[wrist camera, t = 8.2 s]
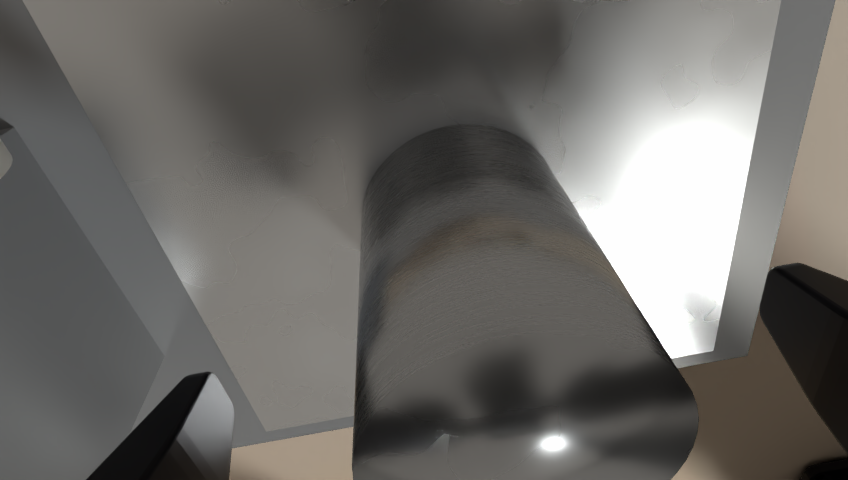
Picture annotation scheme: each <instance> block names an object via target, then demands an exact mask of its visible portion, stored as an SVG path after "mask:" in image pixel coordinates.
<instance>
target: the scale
mask: <svg viewBox="0 0 848 480" xmlns="http://www.w3.org/2000/svg"><path fill="white" fill-rule="evenodd" d="M834 4H835V0H781V4H780V10H779V15H778V20H777V25H776V30H775V35H774V41H773V46H772V51H771V56H770V61H769V66H768V72H767V77H766V82H765V87H764V92H763V97H762V103H761V108H760V113H759V118H758V123H757V128H756V134H755V139H754V144H753V149H752V154H751V159H750V165H749V170H748V175H747V180H746V185H745V190H744V196H743V201H742V206H741V211H740V216H739V221H738V227H737V232H736V237H735V242H734V247H733V252H732V258H731V263H730V268H729V273H728V278H727V283H726V289H725V294H724V299H723V304H722V309H721V314H720V320H719V325H718V330H717V335H716V340H715V345H714V351H710V352H705V353H699V354H694V355H688V356H683V357H677V358H672V361H673V362H674V364H675V366H676V367H677V368H682V367H687V366H693V365H698V364H704V363H710V362H715V361H721V360H726V359H732V358H737V357H743V356H747V355H748V351H749V347H750V343H751V339H752V335H753V331H754V327H755V323H756V319H757V315H758V311H759V307H760V302H761V297H762V293H763V289H764V285H765V281H766V277H767V274H768V270H769V266H770V262H771V258H772V254H773V250H774V246H775V242H776V238H777V234H778V230H779V226H780V222H781V218H782V214H783V210H784V206H785V202H786V198H787V194H788V190H789V185H790V181H791V177H792V173H793V169H794V165H795V161H796V157H797V153H798V149H799V145H800V141H801V137H802V133H803V129H804V125H805V121H806V117H807V113H808V109H809V105H810V101H811V97H812V93H813V89H814V84H815V80H816V76H817V72H818V68H819V64H820V60H821V56H822V52H823V48H824V44H825V40H826V36H827V32H828V28H829V24H830V20H831V16H832V12H833V8H834ZM207 371H208V372H213V373H214V374H215V375H216V376H217V378H218V379H219V381H220V383H221V385H222V386H223V388H224V390H225V391H226V393H227V395H228V396H229V398H230V400H231V402H232V404H233V408H234V426H233V438H232V448H237V447H242V446H248V445H253V444H259V443H265V442H270V441H276V440H281V439H287V438H292V437H298V436H303V435H309V434H315V433H320V432H326V431H331V430H337V429H342V428H348V427H354V416H350V417H345V418H339V419H334V420H328V421H322V422H317V423H311V424H306V425H300V426H295V427H289V428H284V429H278V430H273V431H267V432H266V431H265V429H264V427H263V425H262V424H261V422H260V420H259V418H258V416H257V415H256V413H255V411H254V409H253V408H252V406H251V404H250V402H249V401H248V399H247V397H246V395H245V393H244V392H243V390H242V388H241V386H240V385H239V383H238V381H237V379H236V378H235V376H234V374H233V372H232V370H231V369H230V367H229V365H228V363H227V362H226V360H225V358H224V356H223V355H222V353H221V351H220V349H219V347H218V346H217V344H216V342H215V340H214V339H213V337H212V335H211V333H210V332H209V330H208V328H207V326H206V324H205V323H204V321H203V319H202V317H201V316H200V314H199V312H198V310H197V308H196V307H195V305H194V303H193V301H192V300H191V298H190V296H189V294H188V293H187V291H186V289H185V287H184V285H183V284H182V282H181V280H180V278H179V277H178V275H177V273H176V271H175V270H174V268H173V266H172V264H171V262H170V261H169V259H168V257H167V255H166V254H165V252H164V250H163V248H162V247H161V245H160V243H159V241H158V239H157V238H156V236H155V234H154V232H153V231H152V229H151V227H150V225H149V224H148V222H147V220H146V218H145V216H144V215H143V213H142V211H141V209H140V208H139V206H138V204H137V202H136V201H135V199H134V197H133V195H132V193H131V192H130V190H129V188H128V186H127V185H126V183H125V181H124V179H123V177H122V176H121V174H120V172H119V170H118V169H117V167H116V165H115V163H114V162H113V160H112V158H111V156H110V154H109V153H108V151H107V149H106V147H105V146H104V144H103V142H102V140H101V139H100V137H99V135H98V133H97V131H96V130H95V128H94V126H93V124H92V123H91V121H90V119H89V117H88V116H87V114H86V112H85V110H84V108H83V107H82V105H81V103H80V101H79V100H78V98H77V96H76V94H75V93H74V91H73V89H72V87H71V85H70V84H69V82H68V80H67V78H66V77H65V75H64V73H63V71H62V70H61V68H60V66H59V64H58V62H57V61H56V59H55V57H54V55H53V54H52V52H51V50H50V48H49V46H48V45H47V43H46V41H45V39H44V38H43V36H42V34H41V32H40V31H39V29H38V27H37V25H36V23H35V22H34V20H33V18H32V16H31V15H30V13H29V11H28V9H27V8H26V6H25V4H24V2H23V0H0V480H86V479H87V478H88V477H89V476H90V475H91V474H92V473H93V472H94V471H95V469H96V468H97V467H98V466H99V465H100V464H101V463H102V462H103V461H104V460H105V459H106V458H107V457H108V456H109V455H110V454H111V453H112V452H113V451H114V450H115V449H116V448H117V447H118V446H119V444H120V443H121V442H122V441H123V440H124V439H125V438H126V437H127V436H128V435H129V434H130V433H131V432H132V431H133V430H134V429H135V428H136V427H137V426H138V425H139V424H140V423H141V422H142V421H143V419H144V418H145V417H146V416H147V415H148V414H149V413H150V412H151V411H152V410H153V409H154V408H155V407H156V406H157V405H158V404H159V403H160V402H161V401H162V400H163V399H164V398H165V397H166V396H167V394H168V393H169V392H170V391H171V390H172V389H173V388H174V387H175V386H176V385H177V384H178V383H179V382H180V381H181V380H182V379H183V378H184V377H186V376H188V375H190V374H196V373H201V372H207Z"/></svg>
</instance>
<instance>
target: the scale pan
mask: <svg viewBox="0 0 848 480" xmlns="http://www.w3.org/2000/svg"><path fill="white" fill-rule="evenodd" d="M23 2H24V4H25V6H26V8H27V9H28V11H29V13H30V15H31V16H32V18H33V20H34V22H35V23H36V25H37V27H38V29H39V31H40V32H41V34H42V36H43V38H44V39H45V41H46V43H47V45H48V46H49V48H50V50H51V52H52V54H53V55H54V57H55V59H56V61H57V62H58V64H59V66H60V68H61V70H62V71H63V73H64V75H65V77H66V78H67V80H68V82H69V84H70V85H71V87H72V89H73V91H74V93H75V94H76V96H77V98H78V100H79V101H80V103H81V105H82V107H83V108H84V110H85V112H86V114H87V116H88V117H89V119H90V121H91V123H92V124H93V126H94V128H95V130H96V131H97V133H98V135H99V137H100V139H101V140H102V142H103V144H104V146H105V147H106V149H107V151H108V153H109V154H110V156H111V158H112V160H113V162H114V163H115V165H116V167H117V169H118V170H119V172H120V174H121V176H122V177H123V179H124V181H125V183H126V185H127V186H128V188H129V190H130V192H131V193H132V195H133V197H134V199H135V201H136V202H137V204H138V206H139V208H140V209H141V211H142V213H143V215H144V216H145V218H146V220H147V222H148V224H149V225H150V227H151V229H152V231H153V232H154V234H155V236H156V238H157V239H158V241H159V243H160V245H161V247H162V248H163V250H164V252H165V254H166V255H167V257H168V259H169V261H170V262H171V264H172V266H173V268H174V270H175V271H176V273H177V275H178V277H179V278H180V280H181V282H182V284H183V285H184V287H185V289H186V291H187V293H188V294H189V296H190V298H191V300H192V301H193V303H194V305H195V307H196V308H197V310H198V312H199V314H200V316H201V317H202V319H203V321H204V323H205V324H206V326H207V328H208V330H209V332H210V333H211V335H212V337H213V339H214V340H215V342H216V344H217V346H218V347H219V349H220V351H221V353H222V355H223V356H224V358H225V360H226V362H227V363H228V365H229V367H230V369H231V370H232V372H233V374H234V376H235V378H236V379H237V381H238V383H239V385H240V386H241V388H242V390H243V392H244V393H245V395H246V397H247V399H248V401H249V402H250V404H251V406H252V408H253V409H254V411H255V413H256V415H257V416H258V418H259V420H260V422H261V424H262V425H263V427H264V429H265V431H266V432H267V431H273V430H278V429H284V428H289V427H295V426H300V425H306V424H311V423H317V422H322V421H328V420H334V419H339V418H345V417H350V416H354V401H355V375H356V349H357V323H358V297H359V271H360V245H361V219H362V207H363V201H364V197H365V193H366V190H367V188H368V186H369V183H370V181H371V179H372V177H373V176H374V174H375V173H376V171H377V169H378V168H379V167H380V166H381V164H382V163H383V162H384V161H385V160H386V159H387V158H388V157H389V156H390V155H391V154H392V153H393V152H394V151H395V150H396V149H398V148H399V147H400V146H402V145H403V144H405V143H406V142H408V141H409V140H411V139H413V138H415V137H417V136H419V135H421V134H423V133H426V132H428V131H431V130H434V129H438V128H442V127H446V126H452V125H460V124H477V125H485V126H491V127H495V128H499V129H503V130H505V131H507V132H510V133H512V134H515V135H516V136H518V137H520V138H521V139H523V140H525V141H526V142H528V143H529V144H530V145H531V146H532V147H534V148H535V149H536V150H537V151H538V152H539V153H540V155H541V156H542V157H543V158H544V159H545V161H546V162H547V164H548V166H549V167H550V169H551V170H552V172H553V173H554V175H555V176H556V178H557V180H558V181H559V183H560V184H561V186H562V188H563V189H564V191H565V192H566V194H567V195H568V197H569V199H570V200H571V202H572V203H573V205H574V206H575V208H576V210H577V211H578V213H579V214H580V216H581V217H582V219H583V221H584V222H585V224H586V225H587V227H588V228H589V230H590V232H591V233H592V235H593V236H594V238H595V240H596V241H597V243H598V244H599V246H600V247H601V249H602V251H603V252H604V254H605V255H606V257H607V258H608V260H609V262H610V263H611V265H612V266H613V268H614V269H615V271H616V273H617V274H618V276H619V277H620V279H621V280H622V282H623V284H624V285H625V287H626V288H627V290H628V291H629V293H630V295H631V296H632V298H633V299H634V301H635V303H636V304H637V306H638V307H639V309H640V310H641V312H642V314H643V315H644V317H645V318H646V320H647V321H648V323H649V325H650V326H651V328H652V329H653V331H654V332H655V334H656V336H657V337H658V339H659V340H660V342H661V343H662V345H663V347H664V348H665V350H666V351H667V353H668V355H669V356H670V358H671V359H672V358H677V357H683V356H688V355H694V354H699V353H705V352H710V351H714V345H715V340H716V335H717V330H718V325H719V320H720V314H721V309H722V304H723V299H724V294H725V289H726V283H727V278H728V273H729V268H730V263H731V258H732V252H733V247H734V242H735V237H736V232H737V227H738V221H739V216H740V211H741V206H742V201H743V196H744V190H745V185H746V180H747V175H748V170H749V165H750V159H751V154H752V149H753V144H754V139H755V134H756V128H757V123H758V118H759V113H760V108H761V103H762V97H763V92H764V87H765V82H766V77H767V72H768V66H769V61H770V56H771V51H772V46H773V41H774V35H775V30H776V25H777V20H778V15H779V10H780V4H781V0H23Z"/></svg>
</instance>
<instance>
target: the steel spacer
mask: <svg viewBox="0 0 848 480" xmlns="http://www.w3.org/2000/svg"><path fill="white" fill-rule="evenodd" d="M698 422H699V417H698V408H697V404H696V401H695V398H694V395H693V393H692V391H691V389H690V388H689V386H688V384H687V383H686V381H685V380H684V378H683V377H682V375H681V373H680V372H679V370H678V369H677V367H676V366H675V364H674V362H673V361H672V359H671V358H670V356H669V355H668V353H667V351H666V350H665V348H664V347H663V345H662V343H661V342H660V340H659V339H658V337H657V336H656V334H655V332H654V331H653V329H652V328H651V326H650V325H649V323H648V321H647V320H646V318H645V317H644V315H643V314H642V312H641V310H640V309H639V307H638V306H637V304H636V303H635V301H634V299H633V298H632V296H631V295H630V293H629V291H628V290H627V288H626V287H625V285H624V284H623V282H622V280H621V279H620V277H619V276H618V274H617V273H616V271H615V269H614V268H613V266H612V265H611V263H610V262H609V260H608V258H607V257H606V255H605V254H604V252H603V251H602V249H601V247H600V246H599V244H598V243H597V241H596V240H595V238H594V236H593V235H592V233H591V232H590V230H589V228H588V227H587V225H586V224H585V222H584V221H583V219H582V217H581V216H580V214H579V213H578V211H577V210H576V208H575V206H574V205H573V203H572V202H571V200H570V199H569V197H568V195H567V194H566V192H565V191H564V189H563V188H562V186H561V184H560V183H559V181H558V180H557V178H556V176H555V175H554V173H553V172H552V170H551V169H550V167H549V166H548V164H547V162H546V161H545V159H544V158H543V157H542V156H541V155H540V153H539V152H538V151H537V150H536V149H535V148H534V147H532V146H531V145H530V144H529V143H528V142H526V141H525V140H523V139H521V138H520V137H518V136H516V135H515V134H512V133H510V132H507V131H505V130H503V129H499V128H495V127H491V126H485V125H477V124H460V125H452V126H446V127H442V128H438V129H434V130H431V131H428V132H426V133H423V134H421V135H419V136H417V137H415V138H413V139H411V140H409V141H408V142H406V143H405V144H403V145H402V146H400V147H399V148H398V149H396V150H395V151H394V152H393V153H392V154H391V155H390V156H389V157H388V158H387V159H386V160H385V161H384V162H383V163H382V164H381V166H380V167H379V168H378V169H377V171H376V173H375V174H374V176H373V177H372V179H371V181H370V183H369V186H368V188H367V190H366V193H365V197H364V201H363V207H362V219H361V245H360V271H359V297H358V323H357V349H356V375H355V401H354V427H353V453H352V471H353V480H671V479H672V478H673V476H674V475H675V474H676V473H677V472H678V471H679V469H680V468H681V466H682V465H683V464H684V462H685V461H686V459H687V457H688V455H689V453H690V452H691V450H692V448H693V445H694V442H695V439H696V436H697V432H698Z"/></svg>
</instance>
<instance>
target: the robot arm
mask: <svg viewBox="0 0 848 480" xmlns="http://www.w3.org/2000/svg"><path fill="white" fill-rule="evenodd" d="M760 315H761V318H762V320H763V322H764V324H765V326H766V328H767V329H768V331H769V333H770V335H771V336H772V338H773V340H774V341H775V343H776V345H777V347H778V348H779V350H780V352H781V354H782V355H783V357H784V359H785V360H786V362H787V364H788V366H789V367H790V369H791V371H792V373H793V374H794V376H795V378H796V379H797V381H798V383H799V385H800V386H801V388H802V390H803V391H804V393H805V395H806V396H807V398H808V399H809V401H810V403H811V404H812V406H813V407H814V409H815V410H816V412H817V413H818V414H819V416H820V417H821V419H822V420H823V421H824V423H825V424H826V426H827V427H828V428H829V430H830V431H831V432H832V434H833V435H834V437H835V438H836V439H837V441H838V442H839V443H840V445H841V446H842V448H843V449H844V450H845V452H846V453H847V454H848V281H847V280H844V279H841V278H839V277H836V276H834V275H831V274H828V273H826V272H823V271H820V270H818V269H815V268H813V267H810V266H807V265H804V264H801V263H793V264H788V265H782V266H777V267H774V268H772V269H771V270H770V271H769V272H768V274H767V277H766V281H765V285H764V289H763V293H762V297H761V302H760ZM233 426H234V408H233V404H232V402H231V400H230V398H229V396H228V395H227V393H226V391H225V390H224V388H223V386H222V385H221V383H220V381H219V379H218V378H217V376H216V375H215V374H214V373H213V372H208V371H207V372H201V373H196V374H190V375H188V376H186V377H184V378H183V379H182V380H181V381H180V382H179V383H178V384H177V385H176V386H175V387H174V388H173V389H172V390H171V391H170V392H169V393H168V394H167V396H166V397H165V398H164V399H163V400H162V401H161V402H160V403H159V404H158V405H157V406H156V407H155V408H154V409H153V410H152V411H151V412H150V413H149V414H148V415H147V416H146V417H145V418H144V419H143V421H142V422H141V423H140V424H139V425H138V426H137V427H136V428H135V429H134V430H133V431H132V432H131V433H130V434H129V435H128V436H127V437H126V438H125V439H124V440H123V441H122V442H121V443H120V444H119V446H118V447H117V448H116V449H115V450H114V451H113V452H112V453H111V454H110V455H109V456H108V457H107V458H106V459H105V460H104V461H103V462H102V463H101V464H100V465H99V466H98V467H97V468H96V469H95V471H94V472H93V473H92V474H91V475H90V476H89V477H88V478H87V479H86V480H229V473H230V462H231V450H232V438H233ZM801 480H848V459H846V460H840V461H834V462H828V463H822V464H817V465H813V466H811V467H809V468H807V469H806V470H805V471H804V474H803V476H802V478H801Z"/></svg>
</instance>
